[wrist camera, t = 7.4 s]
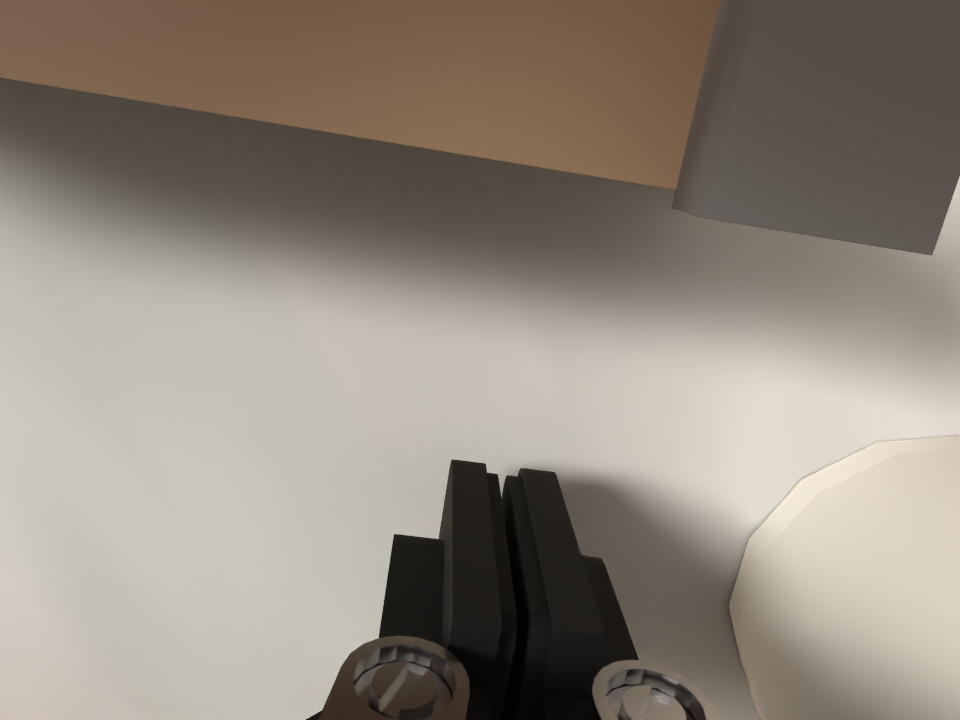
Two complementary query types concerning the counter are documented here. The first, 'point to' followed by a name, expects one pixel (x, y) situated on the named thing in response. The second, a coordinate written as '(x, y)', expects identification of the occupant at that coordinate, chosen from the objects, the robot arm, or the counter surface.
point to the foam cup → (858, 590)
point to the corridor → (568, 90)
